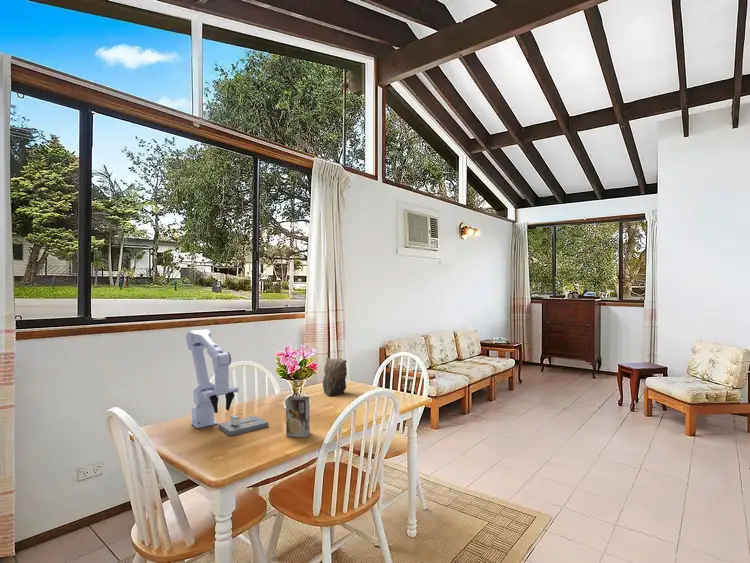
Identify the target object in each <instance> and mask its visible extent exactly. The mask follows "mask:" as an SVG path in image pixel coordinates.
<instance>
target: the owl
mask: <svg viewBox="0 0 750 563" xmlns="http://www.w3.org/2000/svg"><path fill="white" fill-rule="evenodd" d="M325 360H326V362H325V365H324V368H323V370H324V372H323V373H324V376H323V379H322V387H323V394H325V395H326V396H327V397H334V396H335V397H336V396H339V395H340V396H341V395H344V394H346V393H345V391H346V389H347V381H346V377H347V375H348V371H347V368H348V367H347V360H346V359H342V358H331V357H330V358H329V357H328V358H325Z"/></svg>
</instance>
